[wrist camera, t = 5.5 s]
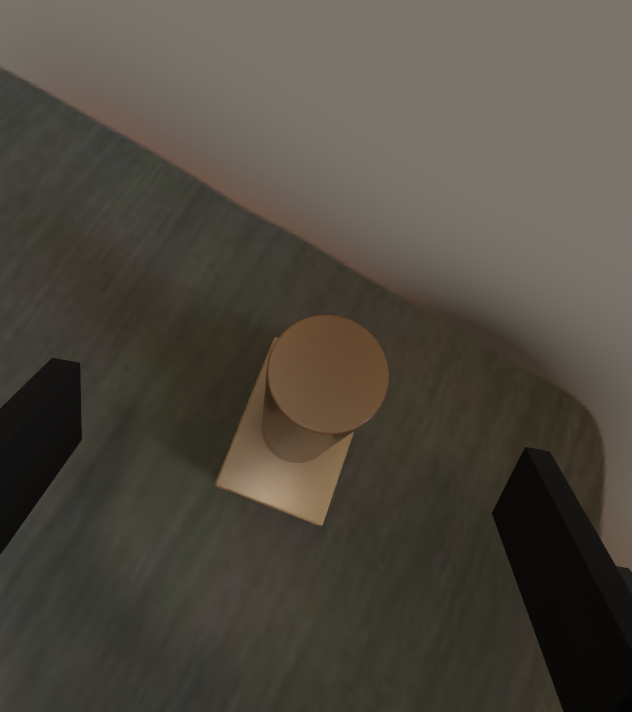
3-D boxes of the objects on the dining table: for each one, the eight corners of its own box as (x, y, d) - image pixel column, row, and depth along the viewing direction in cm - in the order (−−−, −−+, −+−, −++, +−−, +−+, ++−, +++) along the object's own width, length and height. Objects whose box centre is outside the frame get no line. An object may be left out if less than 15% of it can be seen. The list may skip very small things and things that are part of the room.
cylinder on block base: (362, 386, 23) (455, 286, 12) (315, 524, 21) (377, 548, 11) (272, 351, 23) (288, 221, 12) (217, 487, 21) (178, 474, 11)
